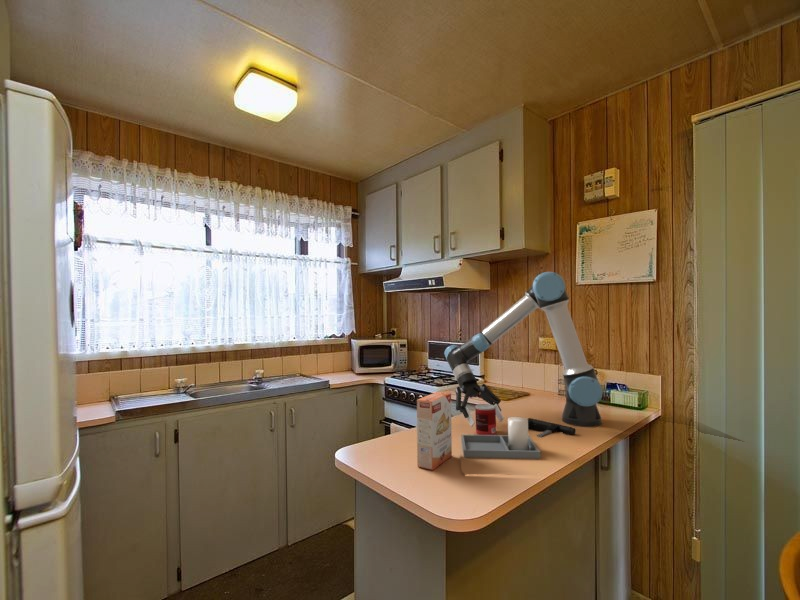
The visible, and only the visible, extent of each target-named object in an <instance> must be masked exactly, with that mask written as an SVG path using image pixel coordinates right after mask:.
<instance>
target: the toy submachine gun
mask: <svg viewBox="0 0 800 600" xmlns="http://www.w3.org/2000/svg"><path fill="white" fill-rule="evenodd" d="M527 419H528V430H529V431H530V430H531V431H534V432H540V433H539V434H536V437H538V438H543V437H546V436H548V435H550V434H555V433H562V434H564V433H565V435H568V434H569V436H574V435H575V434H576V429H575V427H572V426H569V425H564V424H559V423H554V422H551V421H544V420H542V419H541V420H540V419H535V418H532V417H529V418H527Z"/></svg>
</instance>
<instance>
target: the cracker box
mask: <svg viewBox="0 0 800 600" xmlns="http://www.w3.org/2000/svg"><path fill="white" fill-rule="evenodd" d="M416 429H417V430H416V435H417V436H416V440H417V441H416V443H417V445H416V446H417V449H416V450H417V452H416V453H417V456H416V457H417V467H418V468H421V469H426V470H430V471H434V470H435V469H436V468H438V467H439V466H441V465H442V464H443V463H444V462H446V461H447V460H448V459H449V458H451V457H452V453H453V451H452V450H453V449H452V445H453V444H452V442H453V441H452V437H453V436H452V394H451V393H449V392H440V391H435V392H433V393H430V394H428V395H425V396H422V397H420V398H418V399H416Z"/></svg>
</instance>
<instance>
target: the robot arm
mask: <svg viewBox="0 0 800 600" xmlns="http://www.w3.org/2000/svg"><path fill="white" fill-rule="evenodd" d="M569 301H570V297H569V295H568V292H567V290H566V282H565V280H564V279H563V277H562V276H561V275H560V274H558V273H556V272H553V271H545V272H542V273H539V274H538V275H537V276H536V277H535V278H534V280H533V282H532V285H531V286H530V287H529V289H527V290H526V291H524V295H523V297H521V298H520V299H519V300H518V301H516V302H515V303H514V304H513V305H512V306H510V307H509V308H508V309H507V310H506V311H504V312H503V313H502V314H500V316H498V317H497V318H496V319H494V320H493V321H492V322H491V323H490V324H488V325H487V326H486V327H485V328H484V329H483V330H481V331H480V332H479V333H477V334H475V335H473V336H472V337H471V338H470V339H468V340H466V341H465V342H464V343H462V344H461V345H458V344H452V345H449V346H447V347H446V348H445V350H444V353H443V355H444V356H445V359H446V362H447V364H448V366H449V367H450V370H451V371H452V375H453V376H454V378H455V379H456V381H457V384H458V386H457V387H456V388H455V390H454V392H455V395H456V397H455V410H456V411H459V412H460V413H461V414H462V415H463V417H464V419H466V420H467V422H468V424H469V426H470V427H471V428H472V427H473V426H474V424H476V420H474V417H473V415H472V413H471V411H470V410H469V409H470V408H468V407H467V404H468V401H469V398H471V399H472V398H479V399H482V400H483V401H485V402H486V403H487V404H491V405H494V406H495V409H496V419H498V421H499V423H501V422H502V421H503V420H504V419H505V416H504V414H503V413H502V409H501V407H500V403H501V402H502V400H501V399H500V398H499V397H498V396H497V395H496V394H495V393H493V391H492V390H490V388H488V387H487V385H486V384H485V383H482V384H481V385H479V384H478V380H477V378H476V376H475V374H474V373H473V371H472V369H471V366H470V365H469V363H468V362H469V361H471V360H473V359H474V358H476V357H477V356H479V355H480V354H483V352H485V351H486V350H488V349H489V348H490V346H491V345H493V344H494V343H495V342H496V341H498V340H499V339H500V338H501V337H503V336H504V335H505V334H507V333H508V332H509V331H510V330H512V329H513V328H514V327H516V326H517V325H518V324H519V323H520V322H521V321H522V320H524V319H525V318H527V316H529V315H530V314H532V313H533V312H534V311H535V310H536V309H540V310H541V311H543V312H544V313H545V315H546V318H547V321H548V324H549V327H550V330H551V333H552V336H553V339H554V342H555V344H556V347H557V351H558V353H559V356H560V359H561V361H562V365H563V368H564V370H563V372H562V373H561V374H562V377H563V380H564V383H565V404H564V408H563V410H562V414H561V417H562V418H561V420H562V422H563V423H566V424H569V425H571V426H576V427H587V428H588V427H599V426H601V425H602V424H603V423H602V422H603V421H602V416H601V414H600V411H599V408H598V406H597V404H598V403H599V402H600V401H601V399H602V397H603V386H602V384H601V383H600V381H599V380H598V377H597V373H596V371H595V368H594V366H593V365H591V364H589V363H588V362H587V358H586V356H585V353H584V349H583V347H582V343H581V341H580V339H579V337H578V336H579V335H578V334H577V333H578V332H577V330H576V328H575V324H574V322H573V318H572V316H571V313H570V311H569V307H568V304H569ZM462 394H464V397H463V400H462Z"/></svg>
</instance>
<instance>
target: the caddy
mask: <svg viewBox="0 0 800 600" xmlns="http://www.w3.org/2000/svg"><path fill="white" fill-rule="evenodd" d="M530 436H531V435H529V451H521V450H509V446H508V434H506V435H505V434H504V435H503V434H495V435H479V434H461V435H460V439H461V448H462V455H463V458H470V459H471V458H474V459H475V458H477V459H478V458H479V459H525V460H527V459H528V460H533V459H534V460H541V455H542V454H541V450H540V449H539V447H538V446H537V445H536V442H534V440H533V439H532V437H530Z"/></svg>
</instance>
